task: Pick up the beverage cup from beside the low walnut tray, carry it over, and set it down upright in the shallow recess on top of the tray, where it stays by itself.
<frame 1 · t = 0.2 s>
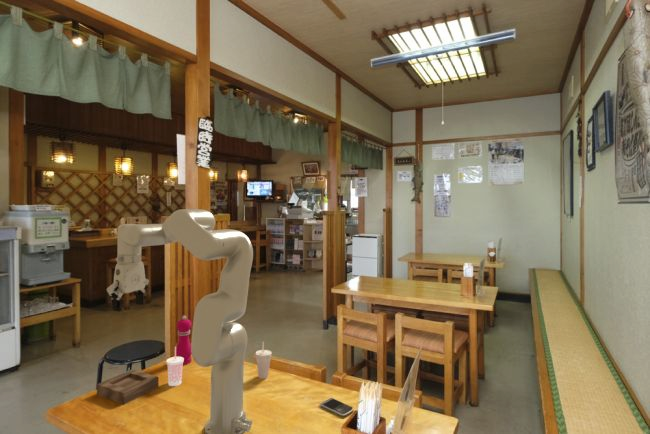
hand: (128, 307, 134), 31 cm above the table, tool pointing down, fingers open, 9 cm apart
pepper mill: (183, 362, 163), on the table
beverage cup: (175, 383, 143), on the table
smoothie: (263, 377, 150), on the table
walnut tray: (128, 392, 137), on the table
cell phone: (336, 410, 128), on the table
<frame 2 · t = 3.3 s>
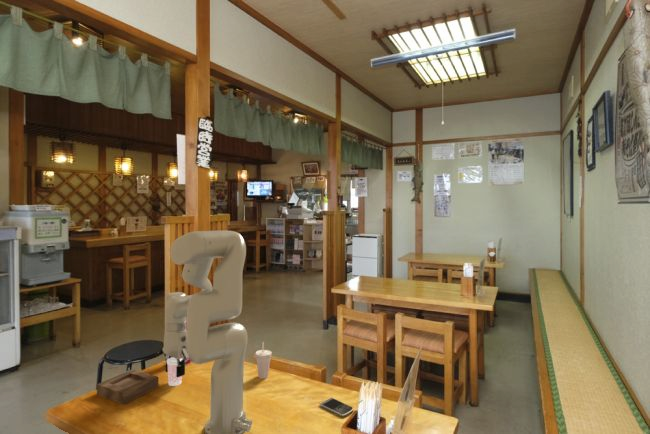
hand: (175, 372, 143), 4 cm above the table, tool pointing down, fingers closed on beverage cup, 6 cm apart
beverage cup: (175, 383, 143), on the table, touching gripper
everything else where it was.
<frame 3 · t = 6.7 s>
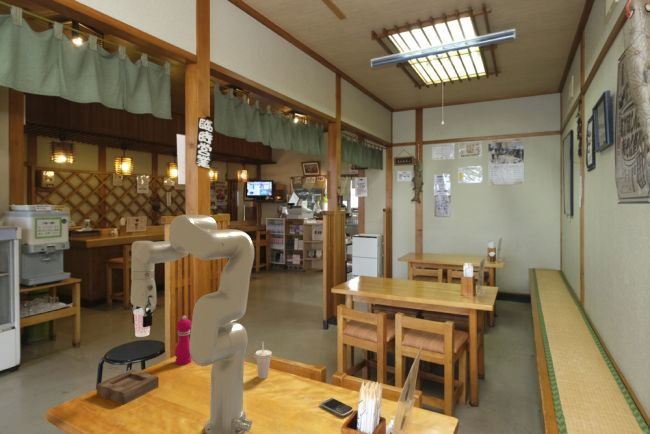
hand: (142, 324, 138), 24 cm above the table, tool pointing down, fingers closed on beverage cup, 6 cm apart
beverage cup: (142, 335, 138), point 20 cm above the table, touching gripper
everything else where it was.
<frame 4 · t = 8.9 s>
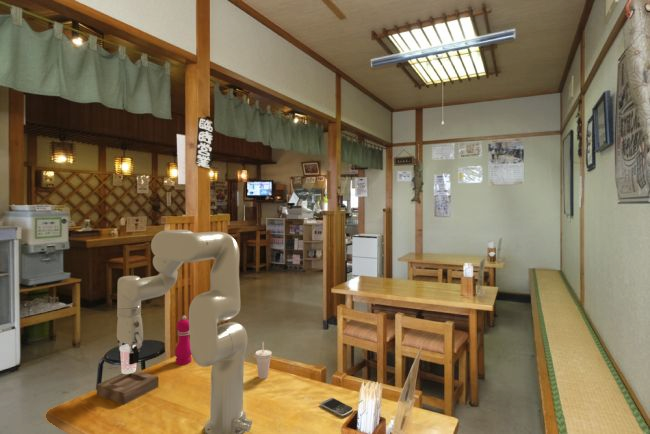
hand: (128, 360, 136), 11 cm above the table, tool pointing down, fingers closed on beverage cup, 6 cm apart
beverage cup: (128, 371, 136), point 7 cm above the table, touching gripper
everything else where it was.
when the fingers open (7 cm above the table, at t = 10.5 s): beverage cup stays where it is, resting on walnut tray.
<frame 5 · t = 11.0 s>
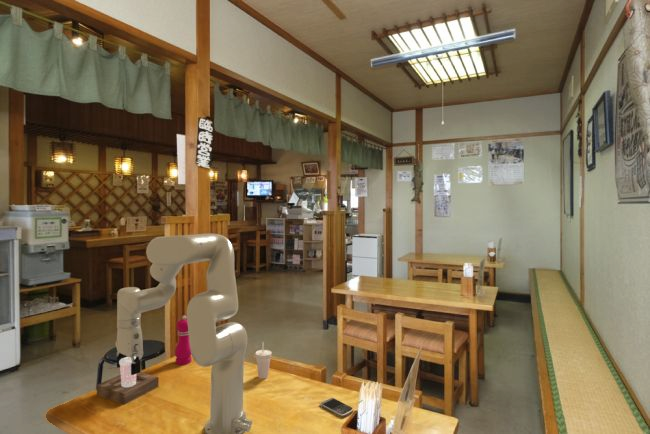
hand: (128, 369, 137), 8 cm above the table, tool pointing down, fingers open, 9 cm apart
beverage cup: (128, 384, 137), point 2 cm above the table, touching walnut tray
walnut tray: (128, 392, 137), on the table, touching beverage cup
everything else where it was.
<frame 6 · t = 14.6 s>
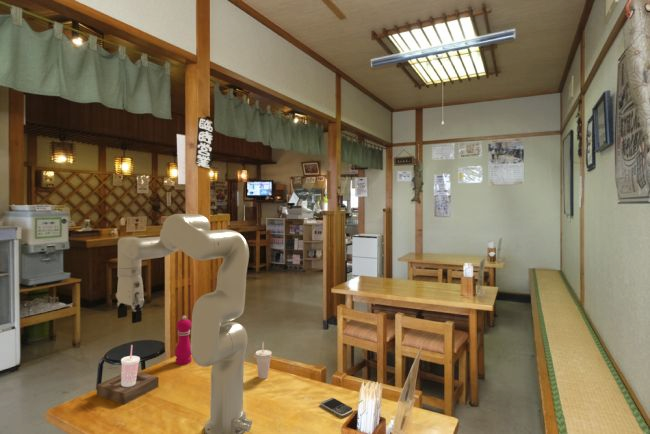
hand: (129, 319, 136), 26 cm above the table, tool pointing down, fingers open, 9 cm apart
nothing on the table moved.
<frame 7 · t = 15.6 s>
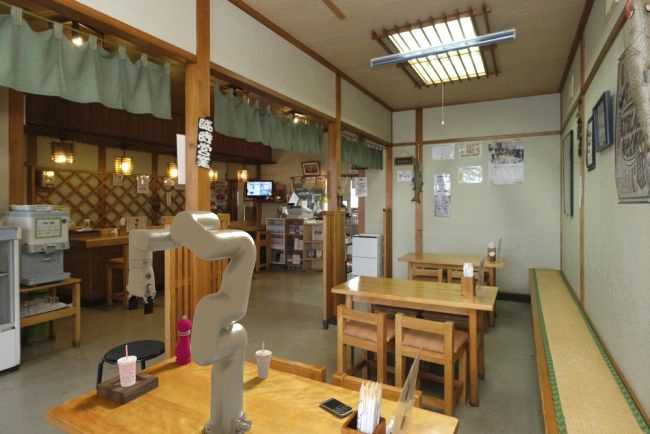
hand: (140, 311, 136), 29 cm above the table, tool pointing down, fingers open, 9 cm apart
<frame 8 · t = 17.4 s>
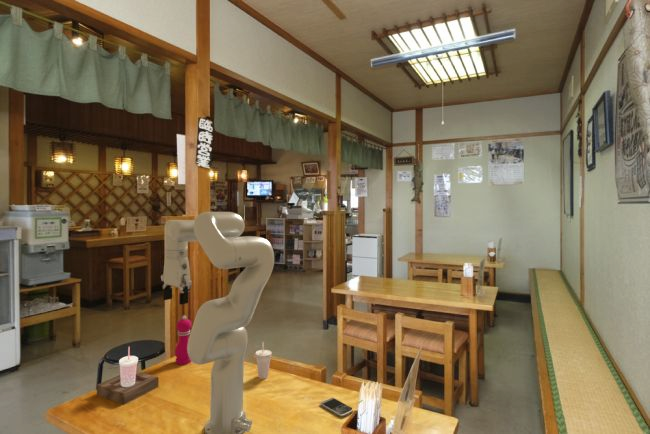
hand: (175, 301, 137), 32 cm above the table, tool pointing down, fingers open, 9 cm apart
at the end: beverage cup inside the target area on the walnut tray (0.2 cm from its centre), point 3.1 cm above the walnut tray's base; beverage cup tilted 8°; the gripper is holding nothing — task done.
